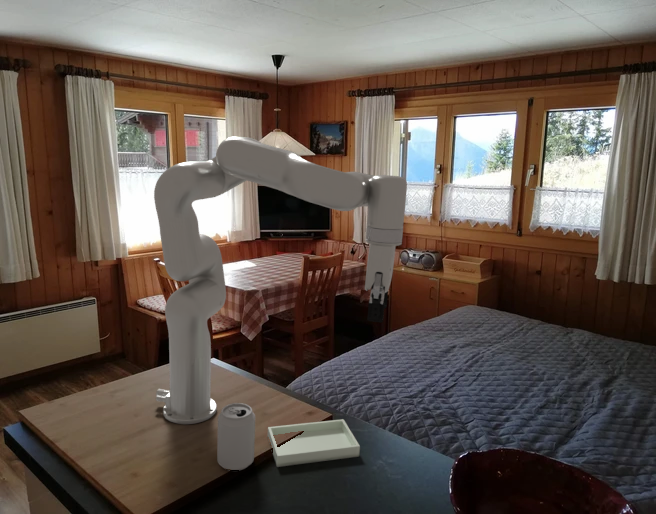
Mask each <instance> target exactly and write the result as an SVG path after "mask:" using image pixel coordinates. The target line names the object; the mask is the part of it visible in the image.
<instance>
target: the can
mask: <svg viewBox="0 0 656 514" xmlns="http://www.w3.org/2000/svg"><path fill="white" fill-rule="evenodd" d="M255 435H256V414H255V413H254V411H253V408H252V407H251V406H250V405H249V404H246V403H242V402H233V403H228V404H227V405H224V406H223V407H222V408H221V410H220V413H219V414H218V416H217V445H216V446H217V452H216V453H217V455H216V456H217V457H216V459H217V463H218V465H219V466H220V467H222V468H223V469H225V468H226V469H231V470H239V471H242V470H245V469H246V468H248V467H249V466H251V465H252V463H254V459H255V443H256V442H255V441H256V440H255V438H256V437H255ZM226 469H225V470H226Z"/></svg>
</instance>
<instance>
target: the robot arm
mask: <svg viewBox="0 0 656 514" xmlns="http://www.w3.org/2000/svg"><path fill="white" fill-rule="evenodd" d="M247 181H248V182H251V183H255V184H258V185H261V186H264V187H267V188H271V189H274V190H278V191H280V192H283V193H285V194H287V195H290V196H293V197H296V198H297V199H300V200H303V201H305V202H308V203H312V204H314V205H319V206H321V207H325V208H328V209H331V210H335V211H340V212H351V211H353V210H355V209H357V208H360V207H367V216H366V217H367V219H366V230H365V243H367V244H369V248H368V253H367V254H368V255H367V263H366V273H365V283H364V290H365V291H366V292H368V290H370V294H369V295H370V296H369V301H368V307H367V317H366V320H367V321H368V322H371V323H383V322H384V313H385V310H386V309H387V306H388V296H389V289H390V286H391V282H392V278H393V272H394V265H395V255H396V247H397V246H402V244H403V243H402V242H403V232H404V223H405V222H404V221H405V212H406V211H405V210H406V202H407V201H406V200H407V198H406V197H407V190H408V182H407V180H406V179H405V178H404V177H402V176H398V175H387V174H377V175H374V174H367V173H363V172H360V171H359V172H358V171H345V172H344V171H341V170H337V169H334V168H330V167H326V166H323V165H320V164H316V163H314V162H311V161H308V160H306V159H304V157H303V158H302V157H301V156H300V155H299V154H298V153H296V152H295V151H291V150H288V149H283V148H280V147H278V146H277V147H276V146H273V145H269V144H266V143H262V142H261V141H259V140H258V139H255V138H252V137H247V136H246V137H245V136H230V137H227V138H225V139H224V140H223V141H221V142H220V144H219V145H218V147H217V149H216V153H215V156H214V157H212V158H210V159H208V160H205V161H198V160H197V161H184V162H180V163H175V164H174V165H172V166H169V167H168V168H167V169H165V170H164V171H163V172H162V174H161V175H160V176H159V178H158V179H157V181H156V183H155V186H154V191H153V194H154V195H153V198H154V200H153V201H154V205H155V210H156V215H157V220H158V226H159V235H160V242H161V250H162V254H163V262H164V267H165V270H166V273H167V275H168V276H169V277H170V278H171V279H172V280H174V281H175V282H176V281H177V282H186V281H188V283H187V284H185V285H184V286H182V287H180V288H177V290H175V291H174V292H172V293H171V295H170V296H169V297H168V299H167V300H166V303H165V308H164V314H165V315H164V317H165V320H166V325H167V330H168V331H167V332H168V350H169V351H168V352H169V389H162V388H158V389H157V390H156V393H155V396H156V397H155V401H156V402H160V403H161V402H163V403H165V404H164V406H163V408H162V414H163V415H162V416H163V417H164V418H165V419H166V420H167V421H169V422H171V423H174V424H178V425H193V424H199V423H201V422H202V423H203V422H205V421H207V420H209V419H211V418H212V417H213V416H215V414H216V413H217V408H218V407H217V406H218V405H217V403H216V401H215V400H214V399H213V398H211V376H212V375H211V374H212V373H211V368H212V366H211V365H212V362H211V361H212V360H211V359H212V358H211V357H212V348H211V347H212V346H211V345H212V343H211V333H210V331H209V327H208V320H209V319H210V318H212V317H213V316H214V315H215V314H217V313H218V312H220V311H221V310H222V308H223V307H224V305H225V303H226V300H227V288H226V279H225V273H224V264H223V259H222V257H223V256H222V252H221V250H220V247H219V245H218V243H217V242H216V241H215V240H214V239H213V238H212V237H210V235H209V236H208V235H206V234H200V229H199V221H198V217H197V214H196V212H195V210H194V208H193V202H195V201H199V200H200V201H201V200H207V199H214V198H216V197H219V196H221V195H223V194H225V193H226V192H228V191H231V190H232V189H234V188H236V187H238V186H240V185H241V184H243V183H245V182H247Z"/></svg>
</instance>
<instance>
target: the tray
mask: <svg viewBox="0 0 656 514" xmlns="http://www.w3.org/2000/svg"><path fill="white" fill-rule="evenodd" d="M298 431H304V432H303V433H302V434H301V435H298V436H296V437H295V438H293V439H291V440H290V441H288V442H286V443H285V444H283V445H281V446H280V447H277V444H276V441H275V438H274V436H273V435H278V434H285V433H290V432H298ZM268 437H269V439H270V442H271V445H272V448H273V453H272V456H273V459H274V462H275V465H276V467H277V468H279V467H280V468H281V467H286V466H287V467H288V466H294V465H302V464H303V465H304V464H310V463H311V464H312V463H318V462H325V461H334V460H340V459H341V460H343V459H349V458H351V459H352V458H357V457H360V450H361V446H360V444H359V442H358V441H357V439H356V437H355V436H354V434H353V432H352V430H350V428H349V426H348V424H347V422H346V421H345V419H343V418H342V419H333V420H325V421H315V422H313V421H312V422H303V423H294V424H287V425H286V424H285V425H276V426H275V425H274V426H268V427H267V438H268Z"/></svg>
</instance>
